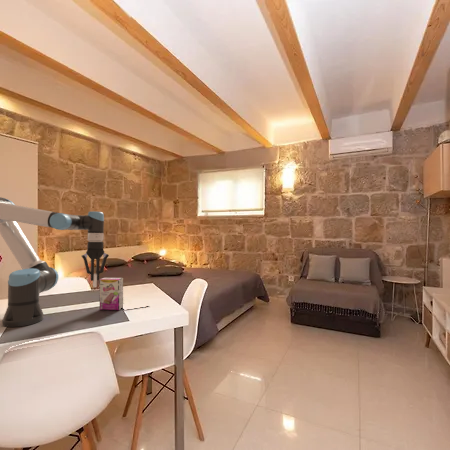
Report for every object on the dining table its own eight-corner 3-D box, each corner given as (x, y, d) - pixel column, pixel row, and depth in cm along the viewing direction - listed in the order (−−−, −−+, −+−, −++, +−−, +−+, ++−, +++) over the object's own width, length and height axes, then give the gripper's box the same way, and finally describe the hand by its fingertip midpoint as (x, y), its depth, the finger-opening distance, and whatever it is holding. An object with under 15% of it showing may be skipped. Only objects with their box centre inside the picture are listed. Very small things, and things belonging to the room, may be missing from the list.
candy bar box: (99, 310, 144) (98, 279, 144) (104, 307, 149) (103, 277, 149) (119, 310, 143) (118, 279, 143) (123, 307, 148) (123, 277, 148)
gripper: (82, 241, 135) (81, 289, 135) (110, 241, 142) (109, 286, 142) (80, 241, 141) (79, 286, 141) (107, 240, 149) (106, 284, 148)
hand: (94, 286), depth 141 cm, fingers closed
